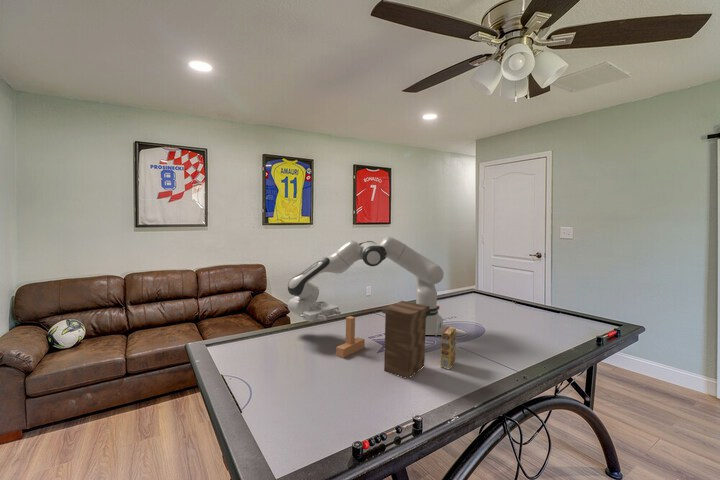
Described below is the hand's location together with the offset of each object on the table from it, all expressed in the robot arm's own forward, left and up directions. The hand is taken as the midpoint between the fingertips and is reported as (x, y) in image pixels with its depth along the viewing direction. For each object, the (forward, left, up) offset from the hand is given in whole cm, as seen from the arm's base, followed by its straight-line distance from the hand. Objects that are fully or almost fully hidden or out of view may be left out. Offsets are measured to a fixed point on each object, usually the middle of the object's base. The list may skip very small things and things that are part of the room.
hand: (333, 315), depth 161 cm
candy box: (-15, +52, -15) cm, 56 cm away
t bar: (0, +9, -7) cm, 11 cm away
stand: (0, +40, -15) cm, 42 cm away
